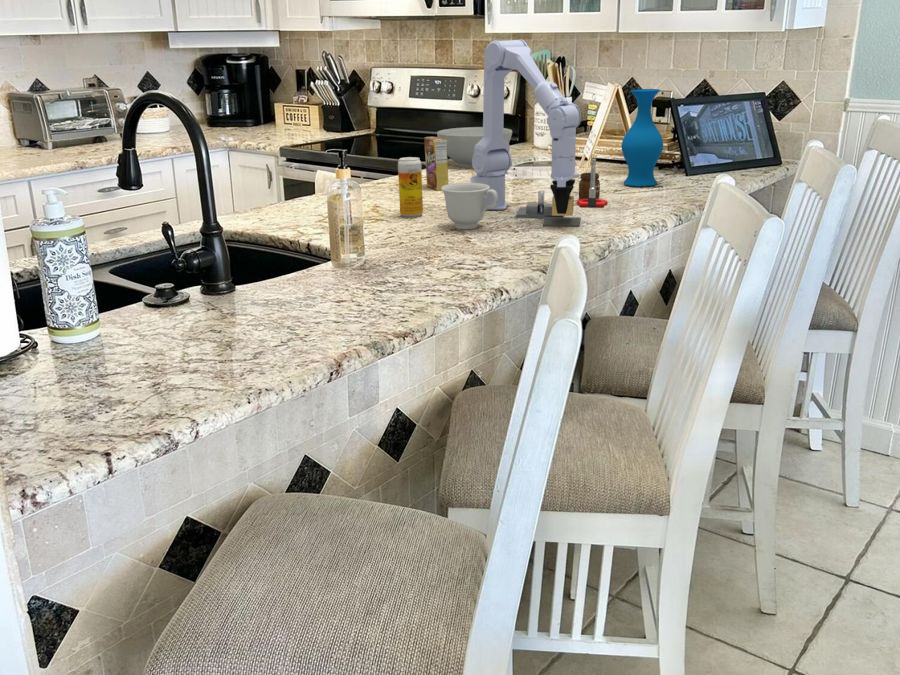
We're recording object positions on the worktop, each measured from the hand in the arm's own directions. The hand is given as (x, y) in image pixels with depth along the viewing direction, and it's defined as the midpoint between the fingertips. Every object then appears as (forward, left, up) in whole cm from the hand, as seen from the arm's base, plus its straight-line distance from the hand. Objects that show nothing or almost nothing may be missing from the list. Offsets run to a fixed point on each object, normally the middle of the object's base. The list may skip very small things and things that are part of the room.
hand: (562, 211), depth 210 cm
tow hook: (+7, +24, -3) cm, 25 cm away
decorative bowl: (-36, +93, -3) cm, 100 cm away
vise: (-6, +10, -3) cm, 12 cm away
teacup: (-22, -7, -3) cm, 23 cm away
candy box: (-41, +47, -3) cm, 62 cm away
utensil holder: (+6, +32, -3) cm, 33 cm away
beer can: (-40, +6, -3) cm, 41 cm away
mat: (0, 0, -3) cm, 3 cm away
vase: (+21, +55, -3) cm, 59 cm away
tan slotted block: (0, 0, -1) cm, 1 cm away
